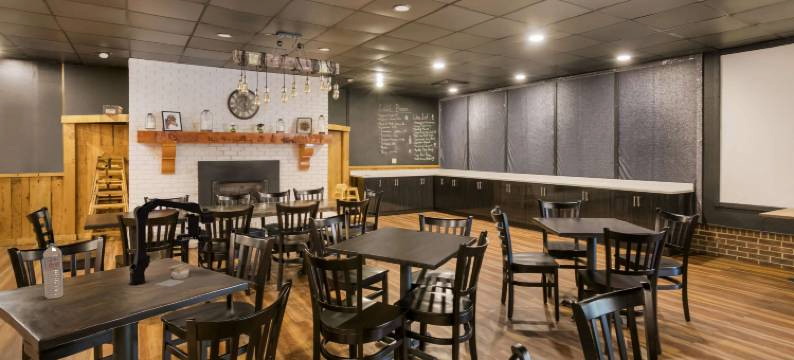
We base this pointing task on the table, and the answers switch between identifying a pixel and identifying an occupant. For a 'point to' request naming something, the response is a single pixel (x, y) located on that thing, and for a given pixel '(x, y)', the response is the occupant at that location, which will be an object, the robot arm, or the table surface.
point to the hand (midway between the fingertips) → (193, 253)
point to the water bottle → (53, 272)
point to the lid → (179, 267)
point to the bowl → (180, 274)
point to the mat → (169, 282)
